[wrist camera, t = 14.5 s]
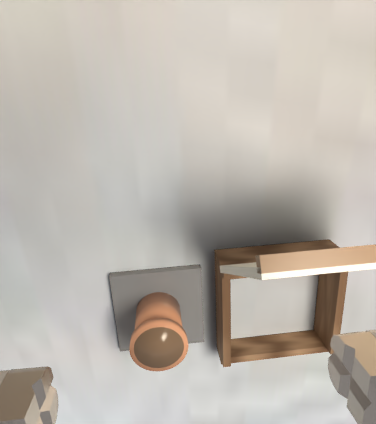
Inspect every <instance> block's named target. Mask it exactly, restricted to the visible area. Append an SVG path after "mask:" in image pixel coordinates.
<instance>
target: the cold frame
mask: <svg viewBox="0 0 376 424" xmlns="http://www.w3.org/2000/svg"><path fill="white" fill-rule="evenodd" d="M333 248H339V247H338V246H337V245H336V244H334V243H333V242H332V241H331V240H318V241H307V242H296V243H285V244H274V245H263V246H252V247H241V248H229V249H218V250H214V251H215V294H216V337H217V349H218V353H219V357H220V361H221V364H223V367H228V366H231V363H237V362H245V361H254V360H262V359H270V358H279V357H287V356H296V355H304V354H312V353H321V352H329V353H330V354H333V352H334V351H333V349H332V348H331V346H330V343H331V338H332V337H333V335H337V334H340V330H341V323H342V315H343V308H344V300H345V292H346V285H347V277H348V271H347V272H337V273H326V274H319V279H318V290H317V300H316V310H315V320H314V330H309V331H300V332H292V333H283V334H274V335H265V336H256V337H247V338H238V339H231V305H230V279H238V278H248V277H243V276H237V275H231V274H225V273H220V266H221V265H232V264H243V263H253V262H256V257H255V256H257V255H268V254H279V253H290V252H301V251H311V250H322V249H333Z"/></svg>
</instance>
